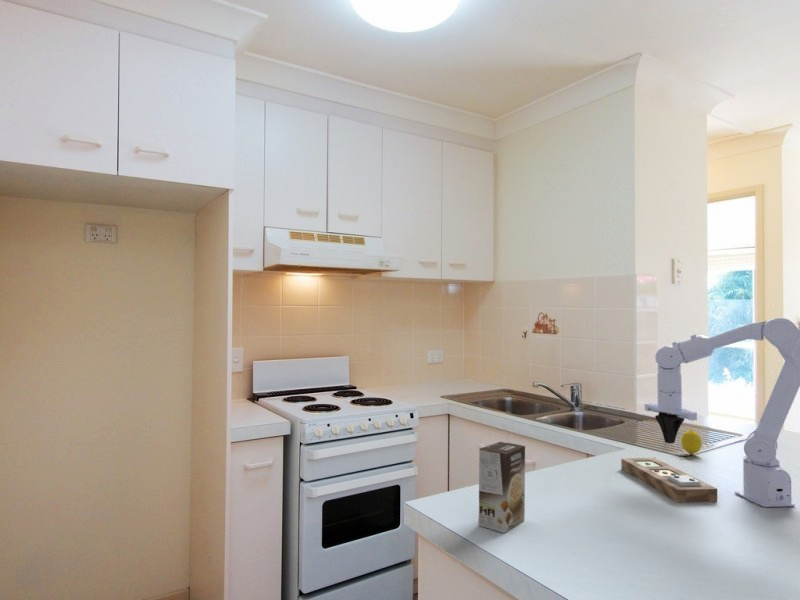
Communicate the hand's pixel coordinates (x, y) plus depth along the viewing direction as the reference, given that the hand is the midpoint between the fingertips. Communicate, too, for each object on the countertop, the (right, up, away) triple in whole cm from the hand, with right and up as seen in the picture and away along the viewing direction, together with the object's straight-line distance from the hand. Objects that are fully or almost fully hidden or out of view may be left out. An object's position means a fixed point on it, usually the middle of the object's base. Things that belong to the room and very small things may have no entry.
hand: (669, 442), depth 137 cm
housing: (-2, -10, -2) cm, 11 cm away
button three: (-2, -10, -2) cm, 11 cm away
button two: (-2, -9, -10) cm, 13 cm away
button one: (-3, -11, +6) cm, 12 cm away
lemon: (+21, -11, +26) cm, 35 cm away
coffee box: (-50, -10, -28) cm, 58 cm away
